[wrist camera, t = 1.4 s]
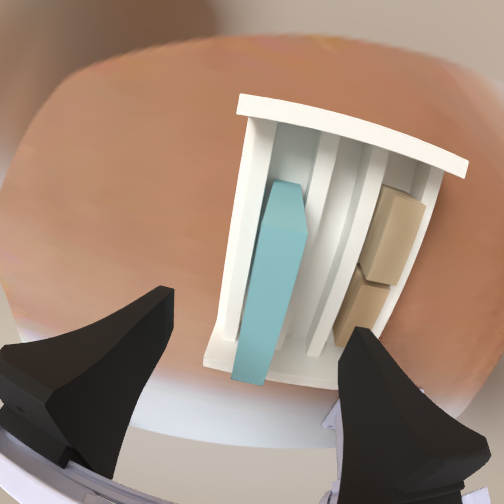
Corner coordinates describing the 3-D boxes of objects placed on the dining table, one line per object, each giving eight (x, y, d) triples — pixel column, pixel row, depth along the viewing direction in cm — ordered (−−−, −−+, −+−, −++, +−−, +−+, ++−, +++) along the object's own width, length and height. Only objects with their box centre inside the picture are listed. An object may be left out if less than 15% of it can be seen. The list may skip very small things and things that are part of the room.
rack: (430, 149, 16) (468, 161, 11) (355, 348, 23) (364, 392, 19) (253, 101, 16) (240, 93, 12) (218, 323, 24) (202, 365, 19)
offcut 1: (378, 267, 19) (390, 290, 16) (354, 323, 21) (361, 349, 19) (352, 261, 19) (361, 284, 16) (331, 319, 21) (334, 346, 19)
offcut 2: (404, 190, 17) (426, 205, 14) (381, 259, 19) (396, 286, 16) (377, 182, 17) (395, 196, 14) (355, 253, 19) (366, 279, 16)
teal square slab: (300, 184, 17) (307, 234, 10) (274, 293, 21) (262, 385, 13) (274, 178, 18) (261, 224, 10) (252, 288, 21) (230, 379, 13)
